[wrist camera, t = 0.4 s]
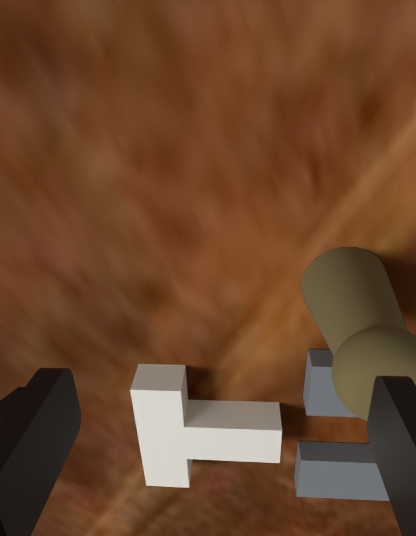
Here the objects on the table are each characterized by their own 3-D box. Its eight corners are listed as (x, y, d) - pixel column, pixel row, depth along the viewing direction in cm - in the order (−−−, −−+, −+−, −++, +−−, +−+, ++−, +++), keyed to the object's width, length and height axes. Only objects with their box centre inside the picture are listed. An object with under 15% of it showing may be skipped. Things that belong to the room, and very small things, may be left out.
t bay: (294, 476, 39) (296, 496, 38) (308, 349, 32) (312, 366, 30) (409, 481, 38) (418, 502, 37) (452, 352, 31) (464, 370, 29)
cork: (404, 283, 28) (489, 401, 19) (337, 332, 31) (382, 459, 21) (349, 229, 27) (411, 329, 17) (283, 285, 29) (304, 399, 20)
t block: (152, 456, 40) (146, 485, 37) (138, 363, 34) (130, 389, 31) (274, 461, 39) (277, 491, 36) (281, 367, 33) (284, 394, 30)
